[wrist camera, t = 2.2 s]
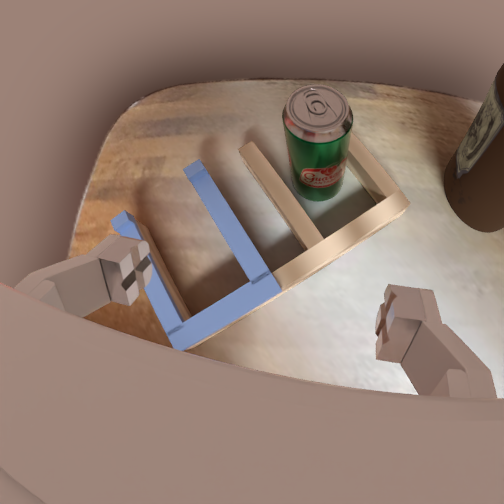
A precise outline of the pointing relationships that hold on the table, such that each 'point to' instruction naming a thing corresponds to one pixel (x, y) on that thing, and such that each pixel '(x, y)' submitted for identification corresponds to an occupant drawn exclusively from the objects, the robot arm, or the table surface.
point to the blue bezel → (227, 307)
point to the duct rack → (308, 221)
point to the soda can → (317, 140)
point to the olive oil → (480, 166)
